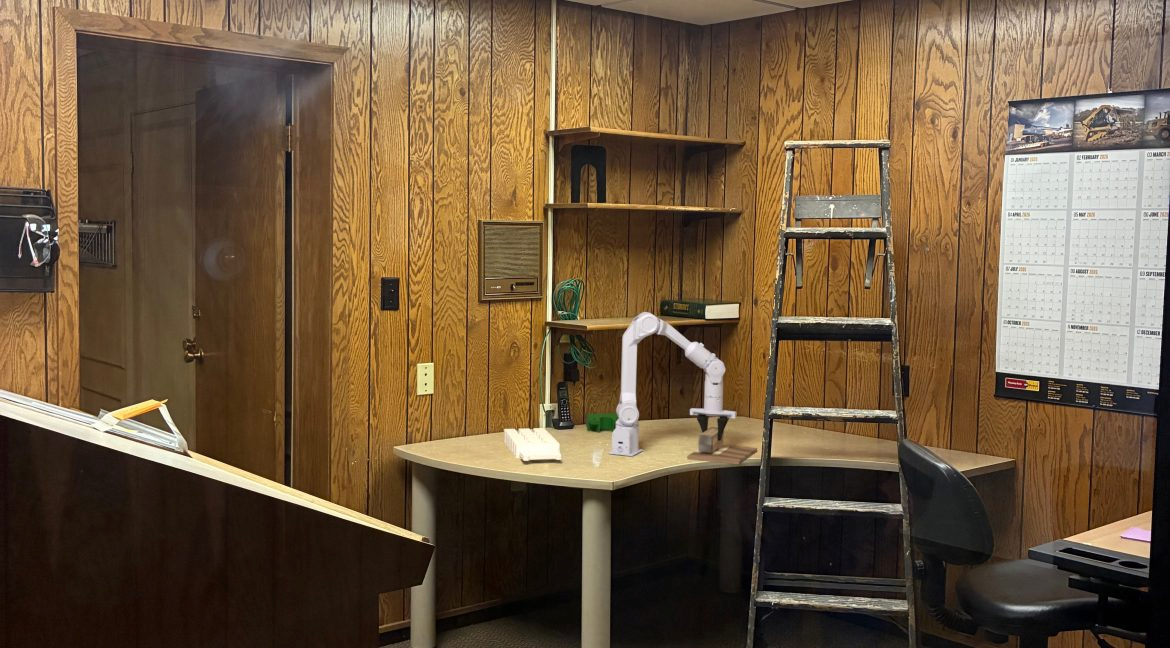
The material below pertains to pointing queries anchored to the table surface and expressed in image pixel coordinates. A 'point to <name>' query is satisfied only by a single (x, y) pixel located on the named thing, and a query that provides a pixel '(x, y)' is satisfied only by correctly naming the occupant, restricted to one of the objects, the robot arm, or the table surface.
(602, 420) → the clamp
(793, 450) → the table surface
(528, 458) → the organizer
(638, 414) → the robot arm
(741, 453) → the board
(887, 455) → the table surface
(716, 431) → the tan wooden bar
